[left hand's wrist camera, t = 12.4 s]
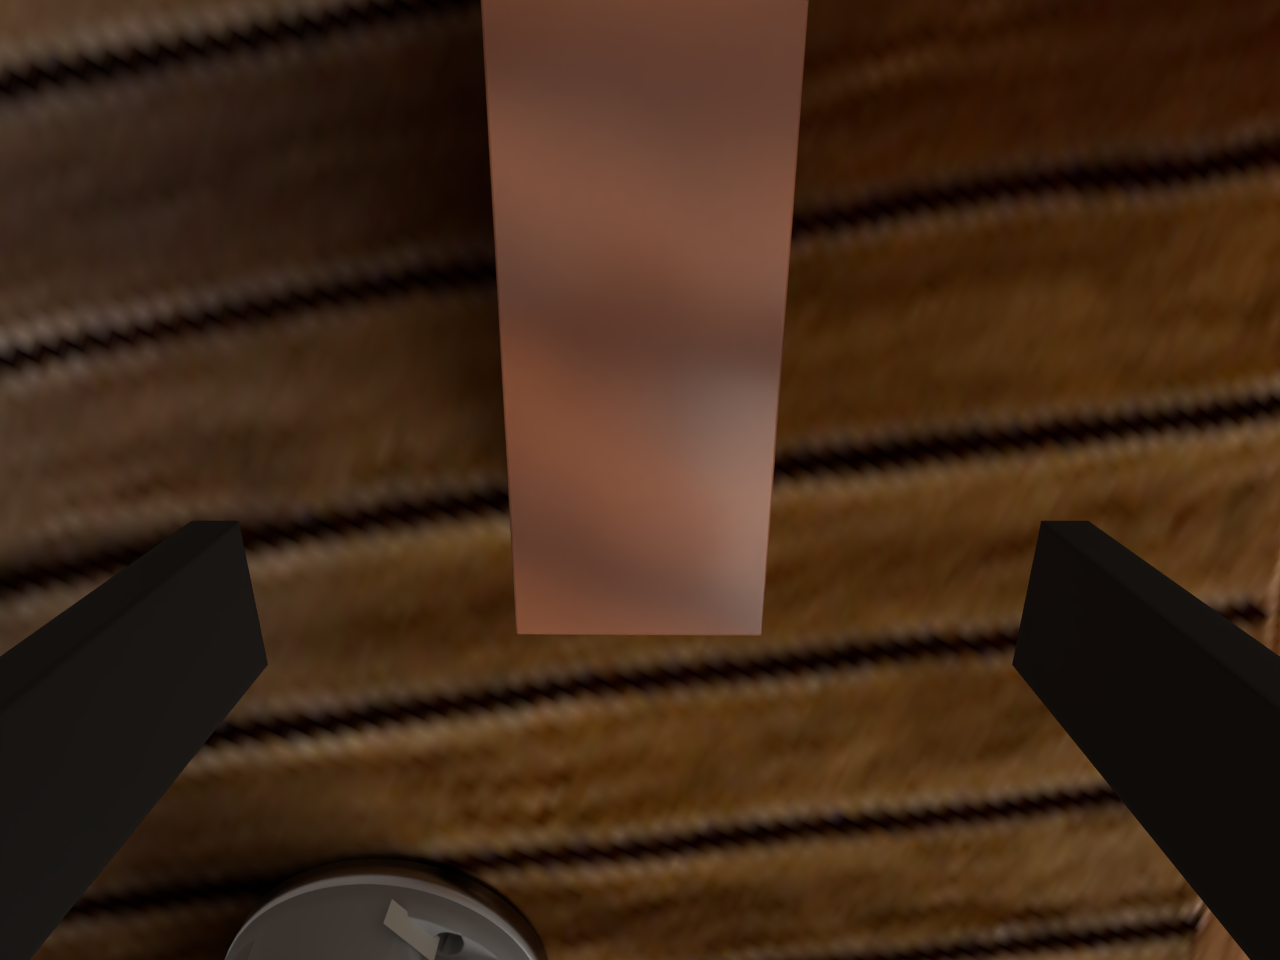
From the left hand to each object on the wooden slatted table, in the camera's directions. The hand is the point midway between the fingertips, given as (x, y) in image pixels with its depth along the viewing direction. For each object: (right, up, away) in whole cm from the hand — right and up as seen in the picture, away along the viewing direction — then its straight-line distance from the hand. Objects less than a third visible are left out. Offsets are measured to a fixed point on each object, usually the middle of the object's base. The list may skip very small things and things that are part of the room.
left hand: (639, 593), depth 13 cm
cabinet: (0, +9, +13) cm, 15 cm away
